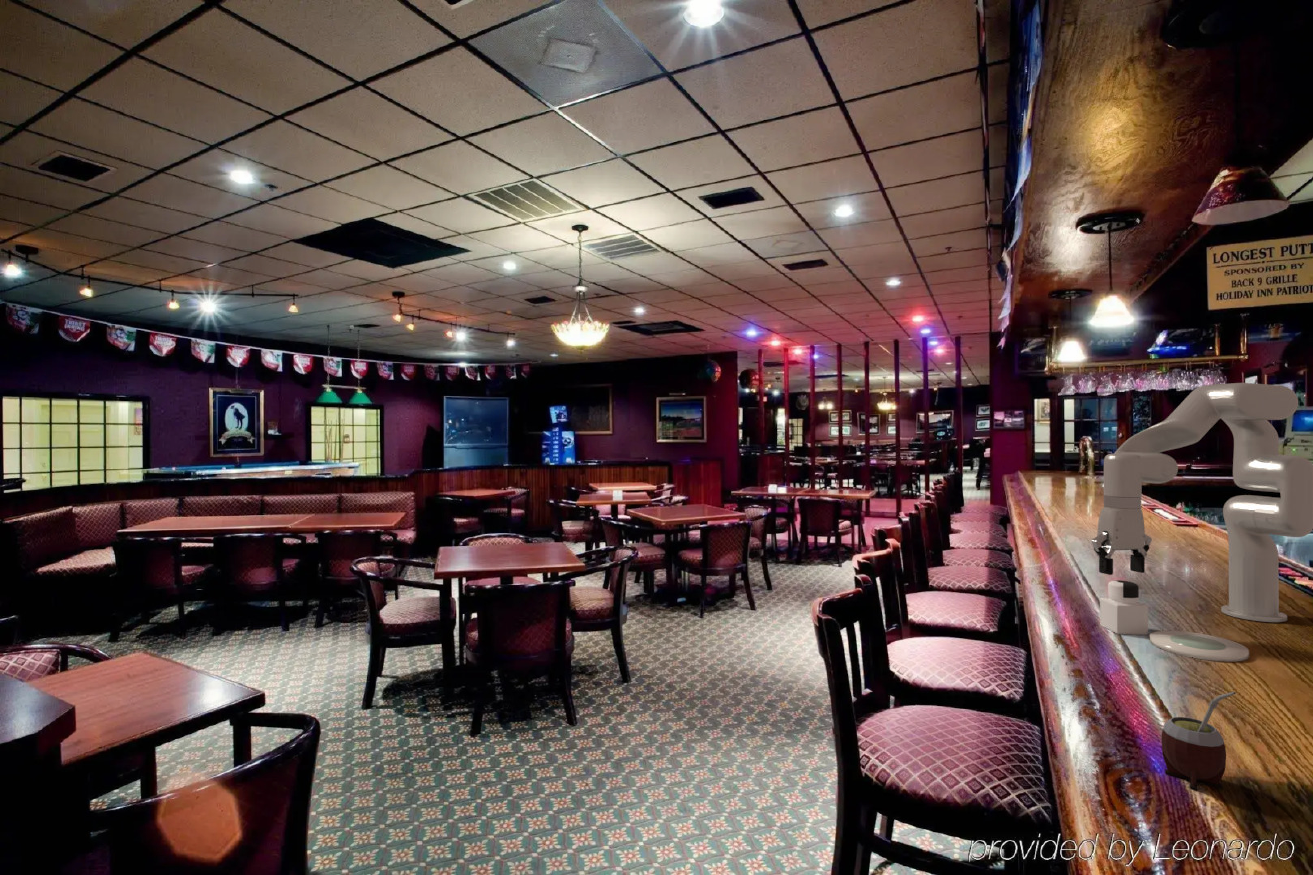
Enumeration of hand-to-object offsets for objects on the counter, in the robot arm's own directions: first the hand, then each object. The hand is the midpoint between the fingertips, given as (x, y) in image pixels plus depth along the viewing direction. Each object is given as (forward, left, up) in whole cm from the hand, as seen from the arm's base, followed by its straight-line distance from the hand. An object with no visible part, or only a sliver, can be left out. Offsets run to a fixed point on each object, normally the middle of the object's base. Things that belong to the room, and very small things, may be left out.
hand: (1121, 572), depth 155 cm
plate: (+5, +14, -14) cm, 21 cm away
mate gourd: (+75, +16, -15) cm, 78 cm away
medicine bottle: (0, 0, -15) cm, 15 cm away
